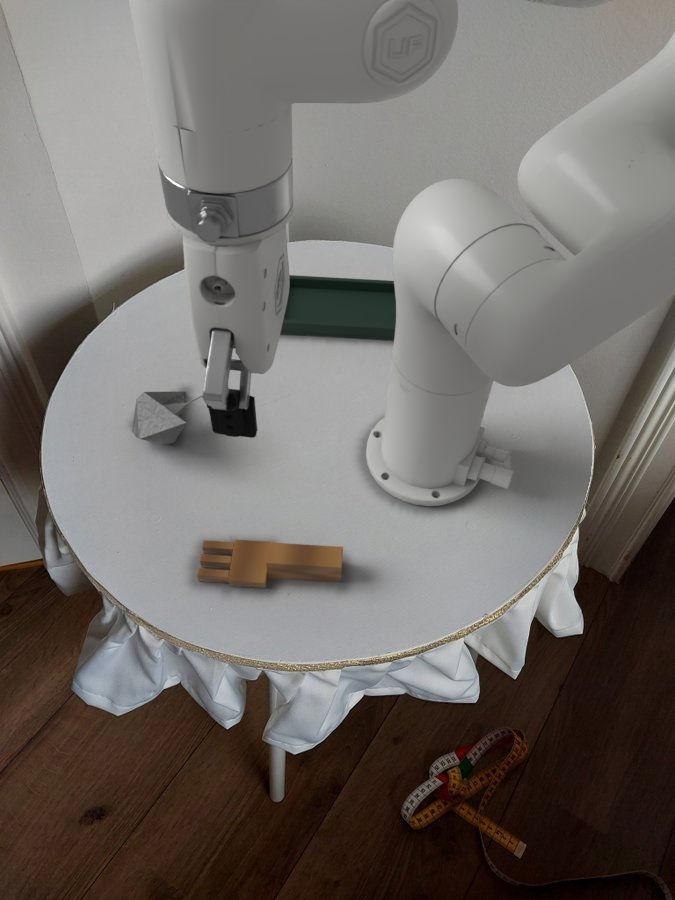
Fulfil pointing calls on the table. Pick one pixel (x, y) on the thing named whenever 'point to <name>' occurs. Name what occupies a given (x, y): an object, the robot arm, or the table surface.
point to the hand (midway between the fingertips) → (247, 383)
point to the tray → (340, 308)
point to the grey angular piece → (159, 416)
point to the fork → (268, 562)
